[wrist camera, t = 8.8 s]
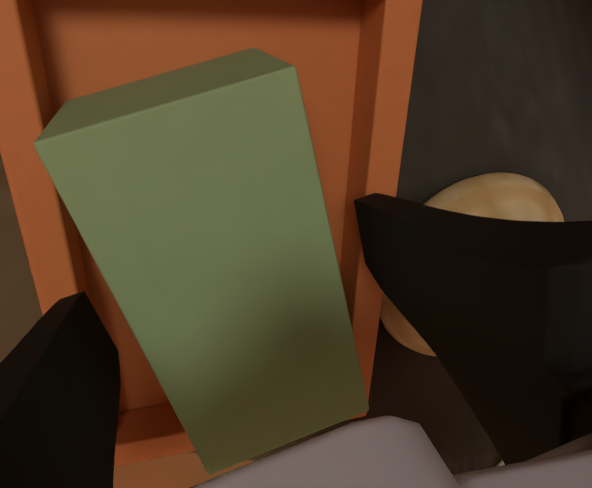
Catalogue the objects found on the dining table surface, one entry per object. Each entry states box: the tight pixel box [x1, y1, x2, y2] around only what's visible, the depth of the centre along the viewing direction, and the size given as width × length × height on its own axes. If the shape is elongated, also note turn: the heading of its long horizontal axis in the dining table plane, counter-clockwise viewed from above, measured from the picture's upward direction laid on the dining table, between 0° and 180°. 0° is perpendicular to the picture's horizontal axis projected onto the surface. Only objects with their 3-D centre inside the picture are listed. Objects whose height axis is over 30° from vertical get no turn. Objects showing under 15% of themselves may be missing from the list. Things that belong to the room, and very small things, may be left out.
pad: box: [33, 48, 369, 474], centre depth 13 cm, size 5×10×4 cm, turn 13°
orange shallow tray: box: [0, 0, 423, 466], centre depth 14 cm, size 10×15×2 cm, turn 178°
